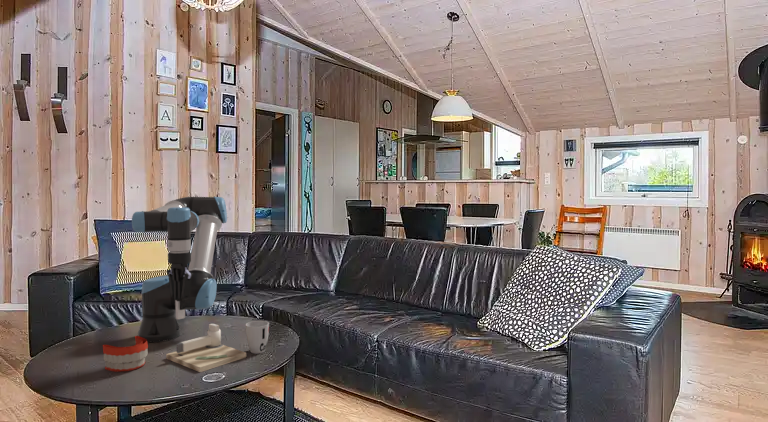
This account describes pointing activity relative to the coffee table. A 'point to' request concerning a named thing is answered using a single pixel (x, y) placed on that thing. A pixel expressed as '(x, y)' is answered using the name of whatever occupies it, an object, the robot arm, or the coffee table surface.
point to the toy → (126, 356)
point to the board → (206, 357)
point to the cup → (257, 336)
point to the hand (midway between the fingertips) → (180, 318)
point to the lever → (202, 340)
